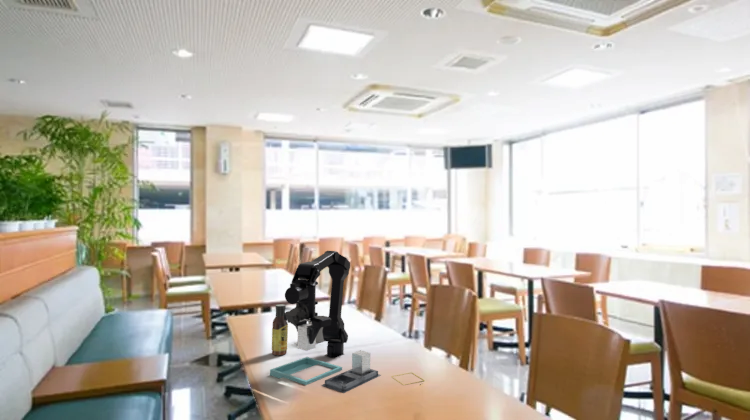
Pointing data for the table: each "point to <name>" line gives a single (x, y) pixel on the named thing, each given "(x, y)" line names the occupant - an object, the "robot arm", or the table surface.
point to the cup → (319, 334)
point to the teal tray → (301, 365)
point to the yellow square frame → (409, 383)
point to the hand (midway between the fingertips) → (306, 342)
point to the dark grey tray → (349, 380)
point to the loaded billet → (361, 363)
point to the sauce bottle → (279, 332)
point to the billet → (305, 338)
